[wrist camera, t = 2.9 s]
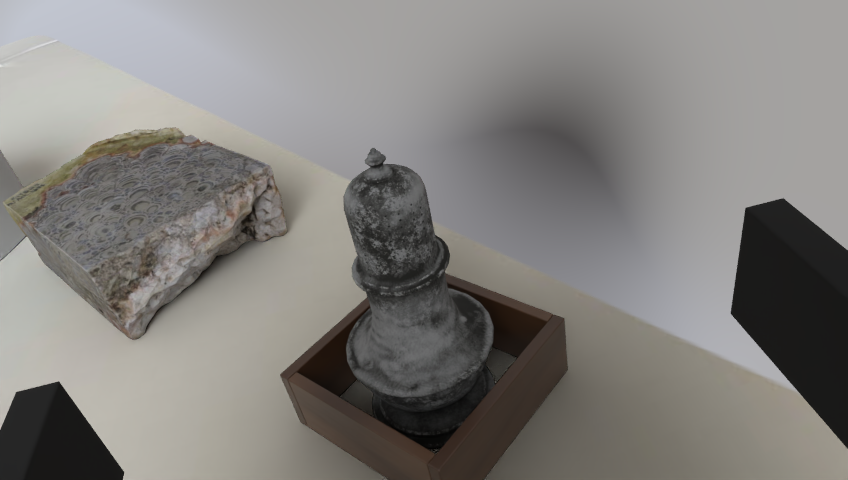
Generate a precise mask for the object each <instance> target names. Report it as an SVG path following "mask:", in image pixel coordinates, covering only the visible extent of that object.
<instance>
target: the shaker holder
mask: <svg viewBox="0 0 848 480" xmlns="http://www.w3.org/2000/svg"><path fill="white" fill-rule="evenodd" d="M445 277H446V282H447V287H448V288H449V289H454V290H457V291H460V292H462V293H465V294H468V295H469V296H471V297H472V298H474V299H475V300H477V301H479V302H480V303H481V304H482V305H483V307H484V308H485V309H486V310H487V312H488V313H489V315H490V318H491V321H492V323H493V326H494V335H493V344H492V346H493V347H496V348H498V349H500V350H502V351H505V352H507V353H509V354H512V355H514V356H516V357H518V358H517V359H516V360H515V362H514V363H513V364H512V365H511V366H510V367H509V369H508V370H507V371H506V372H505V373H504V375H503V376H502V377H501V378H500V379H499V381H498V382H497V383H496V384H495V385H494V386H493V388H492V389H491V390H490V391H489V392H488V394H487V395H486V396H485V397H484V398H483V399H482V401H481V402H480V403H479V404H478V405H477V407H476V408H475V409H474V410H473V411H472V413H471V414H470V415H469V416H468V417H467V418H466V420H465V421H464V422H463V423H462V424H461V426H460V427H459V428H458V429H457V430H456V432H455V433H454V434H453V435H452V436H451V437H450V439H449V440H448V441H447V442H446V443H445V445H444V446H443V447H442V448H441V449H440V450H439V452H438V453H437V454H435V453H433V452H432V451H430V450H428V449H426V448H425V447H423V446H421V445H420V444H418V443H416V442H415V441H413V440H411V439H410V438H408V437H406V436H404V435H403V434H401V433H399V432H398V431H396V430H394V429H393V428H391V427H389V426H387V425H386V424H384V423H382V422H381V421H379V420H377V419H376V418H374V417H372V416H370V415H369V414H367V413H365V412H364V411H362V410H360V409H359V408H357V407H355V406H354V405H352V404H350V403H348V402H347V401H345V400H343V399H342V398H340V397H339V396H340V395H341V394H342V393H343V392H344V391H345V390H346V389H347V388H348V387H349V386H350V385H351V384H352V383H353V382H354V381H355V380H356V379H357V378H356V377H355V376H354V374H353V372H352V370H351V368H350V366H349V364H348V362H347V352H346V345H347V342H348V338H349V334H350V332H351V330H352V329H353V327H354V326H355V324H356V322H357V321H358V319H359V318H360V317H361V316H362V315H363V314H364V313H365V312H366V311H367V310H368V309H370V308H371V307H370V304H369V300H368V297H367V298H366V299H365V300H364V301H363V302H361V303H360V304H359V305H358V306H357V307H356V308H355V309H354V310H352V311H351V312H350V313H349V314H348V315H347V316H346V317H344V318H343V319H342V320H341V321H340V322H339V323H338V324H337V325H335V326H334V327H333V328H332V329H331V330H330V331H329V332H328V333H326V334H325V335H324V336H323V337H322V338H321V339H320V340H319V341H317V342H316V343H315V344H314V345H313V346H312V347H311V348H310V349H308V350H307V351H306V352H305V353H304V354H303V355H302V356H300V357H299V358H298V359H297V360H296V361H295V362H294V363H293V364H291V365H290V366H289V367H288V368H287V369H286V370H285V371H284V372H282V373H281V374H280V376H281V378H282V381H283V383H284V385H285V387H286V390H287V392H288V394H289V397H290V399H291V401H292V403H293V406H294V408H295V410H296V412H297V415H298V417H299V419H300V422H302V423H303V424H305V425H306V426H308V427H309V428H311V429H312V430H314V431H315V432H317V433H318V434H320V435H322V436H323V437H325V438H326V439H328V440H329V441H331V442H332V443H334V444H335V445H337V446H338V447H340V448H341V449H343V450H344V451H346V452H348V453H349V454H351V455H352V456H354V457H355V458H357V459H358V460H360V461H361V462H363V463H364V464H366V465H367V466H369V467H371V468H372V469H374V470H375V471H377V472H378V473H380V474H381V475H383V476H384V477H386V478H387V479H389V480H483V479H484V478H485V477H486V475H487V474H488V473H489V472H490V470H491V469H492V468H493V466H494V465H495V464H496V462H497V461H498V460H499V458H500V457H501V456H502V455H503V453H504V452H505V451H506V449H507V448H508V447H509V445H510V444H511V443H512V441H513V440H514V439H515V438H516V436H517V435H518V434H519V432H520V431H521V430H522V428H523V427H524V426H525V425H526V423H527V422H528V421H529V419H530V418H531V417H532V415H533V414H534V413H535V411H536V410H537V409H538V408H539V406H540V405H541V404H542V402H543V401H544V400H545V398H546V397H547V396H548V395H549V393H550V392H551V391H552V389H553V388H554V387H555V385H556V384H557V383H558V381H559V380H560V379H561V378H562V376H563V375H564V374H565V372H566V371H567V370H568V366H567V351H566V336H565V321H564V318H562V317H559V316H556V315H553V314H551V313H548V312H546V311H543V310H541V309H538V308H535V307H533V306H530V305H527V304H525V303H522V302H519V301H517V300H514V299H512V298H509V297H506V296H504V295H501V294H498V293H496V292H493V291H490V290H488V289H485V288H483V287H480V286H477V285H475V284H472V283H469V282H467V281H464V280H461V279H459V278H456V277H454V276H451V275H448V274H446V273H445Z"/></svg>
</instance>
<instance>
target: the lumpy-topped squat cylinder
mask: <svg viewBox="0 0 848 480" xmlns="http://www.w3.org/2000/svg"><path fill="white" fill-rule="evenodd" d="M22 188H24V187H23V186H22V184H21V182H20V181H19V179H18V177H17V176H16V174H15V173H14V171H13V169H12V168H11V166H10V165H9V163H8V162H7V160H6V158H5V157H4V155H3V154H2V152H1V150H0V260H1V259H2V258H3V257H4V256H6V255H7V254H8V253H9V252H10V251H11V250H12V249H13V248H14V247H15V246H16V245H17V244H18V243H19V242H20V241H21V240H22V239H23V238H24V237H25V236H26V235H25V234H24V233H23V232H22V230H21V229H20V228H19V226H18V225H17V224H16V223H15V221H14V220H13V219H12V217H11V216H10V214H9V213H8V211H7V210H6V208H5V206H4V204H3V201H5V200H6V199H8V198H10V197H11V196H13V195H14V194H16V193H17V192H18V191H19V190H20V189H22Z"/></svg>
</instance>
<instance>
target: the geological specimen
mask: <svg viewBox="0 0 848 480" xmlns="http://www.w3.org/2000/svg"><path fill="white" fill-rule="evenodd" d="M3 204H4V206H5V208H6V210H7V211H8V213H9V214H10V216H11V217H12V219H13V220H14V221H15V223H16V224H17V225H18V226H19V228H20V229H21V230H22V232H23V233H24V234H25V235H26V236H27V237H28V238H29V239H30V241H31V243H32V244H33V245H34V247H35V248H36V250H37V251H38V252H39V253H38V255H39V256H40V258H41V259H42V261H43V262H44V263H45V264H46V265H47V266H48V267H49V268H50V269H51V270H53V271H54V272H55V273H56V274H57V275H58V276H59V277H61V278H62V279H63V280H64V281H65V282H66V283H67V284H68V285H69V286H70V287H71V288H72V289H73V290H74V291H76V292H77V293H78V294H79V295H80V296H81V297H82V298H84V299H85V300H86V301H87V302H88V303H89V304H90V305H91V306H93V307H94V308H95V309H96V310H97V311H99V312H100V313H101V314H102V315H103V316H104V317H105V318H106V319H107V320H109V321H110V322H111V323H112V324H113V325H114V326H115V327H116V328H118V329H119V330H120V331H122V332H123V333H124V334H125V335H126V336H128V337H129V338H131V339H134V340H135V339H137V338H139V337H141V336H142V335H143V334H144V333H145V330H146V326H147V325H148V323H149V322H150V320H151V319H152V317H153V316H154V314H155V313H156V311H157V310H158V309H159V308H160V307H162V306H163V305H165V304H167V303H170V302H171V301H173V300H174V299H175V298H176V297H177V295H178V294H180V293H181V292H182V290H183V289H185V288H186V287H188V286H190V285H191V284H192V283H193V282H194V281H195V280H196V279H197V277H198V276H199V275H200V274H201V272H202V271H203V270H205V269H207V268H208V267H209V266H210V264H211V263H212V262H213V260H214V259H215V257H216V256H217V255H223V254H228V253H230V252H232V251H235V250H237V249H238V248H239V247H240V245H242V244H243V243H244V242H246V241H249V240H258V241H261V242H263V241H266V240H269V239H270V238H271V237H274V236H283V235H284V234H286V233H287V228H286V220H285V216H284V211H283V208H282V207H281V206H282V199H281V195H280V193H279V191H278V189H277V186H276V184H275V181H274V177H273V172H272V168H271V166H270V165H268V164H266V163H263V162H261V161H258V160H255V159H252V158H250V157H247V156H245V155H242V154H239V153H236V152H234V151H231V150H228V149H225V148H222V147H220V146H217V145H215V144H212V143H210V142H208V141H203V142H200V140H199V139H198V138H196V137H195V136H192V135H189V136H185V135H184V134H183V133H182V132H181V131H180V129H178V128H176V127H173V128H164V129H159V130H134V131H132V132H129V133H124V134H120V135H115V136H114V137H112V138H111V139H106V140H103V141H99V142H97V143H95V144H93V145H91V146H90V147H89V148H88V149H87V150H86V151H85V152H84V153H83V154H82V155H80V156H78V157H77V158H75V159H73V160H71V161H70V162H68V163H66V164H64V165H63V166H62V167H61V168H60V169H58V170H56V171H54V172H53V173H51V174H49V175H47V176H46V177H45V178H42V179H40V180H37V181H35V182H33V183H32V184H30V185H28V186H26V187H24V188H22V189H20V190H19V191H18V192H17V193H16V194H14V195H13V196H11V197H10V198H8V199H6V200H5V201H3Z"/></svg>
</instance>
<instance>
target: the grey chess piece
mask: <svg viewBox="0 0 848 480" xmlns="http://www.w3.org/2000/svg"><path fill="white" fill-rule="evenodd" d="M385 160H386V157H385V156H384V155H383V154H381V153H380V152H379V151H377V150H376V149H375V148H372V149H371V150H370V153H369V154H368V158H367V159H366V160H365V163H366V164H367V165H369V166H370V168H369V169H367V170H365V171H364V172H362V173H361V174H359V175H358V176H357V177H356V178H354V179H353V180H352V181H351V183H350V184H349V185H348V187H347V189H346V192H345V194H344V211H345V215H346V218H347V221H348V225H349V228H350V232H351V235H352V238H353V242H354V245H355V249H356V252H357V255H358V256H357V257H356V258H355V260H354V263H353V266H352V277H353V279H354V281H355V283H356V284H357V286H358V287H360V288H361V289H362V290H363V291H365V292H366V293H367V297H368V300H369V304H370V307H371V308H370V309H368V310H367V311H366V312H365V313H364V314H363V315H362V316H361V317H360V318H359V319H358V321H357V322H356V324H355V326H354V327H353V329H352V330H351V332H350V334H349V338H348V342H347V345H346V352H347V362H348V364H349V366H350V368H351V370H352V372H353V374H354V376H355V377H356V378H357V379H358V380H360V381H361V382H362V383H363V384H364V385H365V386H366V387H368V388H369V389H370V390H371V391H372V392H373V393H374V395H373V400H372V406H373V415H374V417H375V418H376V419H377V420H379V421H381V422H382V423H384V424H386V425H387V426H389V427H391V428H393V429H394V430H396V431H398V432H399V433H401V434H403V435H404V436H406V437H408V438H410V439H411V440H413V441H415V442H416V443H418V444H420V445H421V446H423V447H425V448H426V449H428V448H440V447H443V446H444V445H445V443H446V442H447V441H448V440H449V439H450V437H451V436H452V435H453V434H454V433H455V432H456V430H457V429H458V428H459V427H460V426H461V424H462V423H463V422H464V421H465V420H466V418H467V417H468V416H469V415H470V414H471V413H472V411H473V410H474V409H475V408H476V407H477V405H478V404H479V403H480V402H481V401H482V399H483V398H484V397H485V396H486V395H487V394H488V392H489V391H490V390H491V389H492V388H493V386H494V385H495V383H494V380H493V377H492V374H491V372H490V371H489V370H488V368H487V367H486V365H485V362H486V360H487V357H488V354H489V352H490V349H491V347H492V344H493V335H494V326H493V323H492V321H491V318H490V315H489V313H488V312H487V310H486V309H485V308H484V307H483V305H482V304H481V303H480V302H479V301H477V300H475V299H474V298H472V297H471V296H469V295H468V294H465V293H462V292H460V291H457V290H454V289H449V288H448V287H447V282H446V277H445V272H444V271H445V269H446V268H447V266H448V264H449V258H450V253H449V250H448V246H447V245H446V243H445V242H444V241H443V240H442V239H441V238H439V237H438V236H436V235H435V233H434V228H433V223H432V218H431V213H430V208H429V204H428V199H427V193H426V189H425V185H424V183H423V181H422V179H421V178H420V176H419V175H418V174H417V173H415V172H414V171H413V170H411V169H409V168H407V167H404V166H400V165H395V164H383V162H384V161H385Z"/></svg>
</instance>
